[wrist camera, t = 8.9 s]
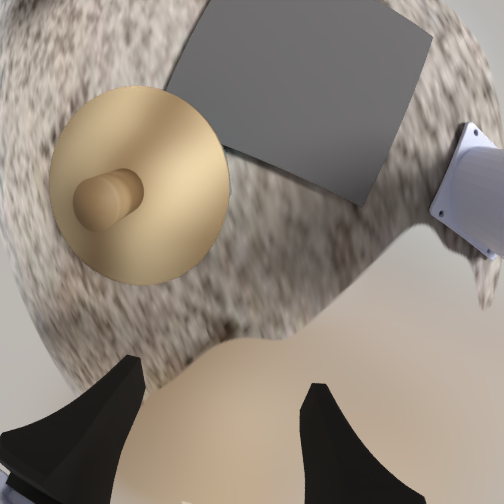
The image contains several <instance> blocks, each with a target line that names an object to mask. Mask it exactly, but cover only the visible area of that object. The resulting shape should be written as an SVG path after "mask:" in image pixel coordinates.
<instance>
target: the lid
mask: <svg viewBox="0 0 504 504" xmlns="http://www.w3.org/2000/svg"><path fill="white" fill-rule="evenodd" d="M49 192H50V200H51V206H52V210H53V213H54V217H55V220H56V222H57V225H58V227H59V229H60V231H61V233H62V235H63V237H64V239H65V240H66V242H67V243H68V245H69V246H70V248H71V249H72V250H73V251H74V252H75V254H76V255H77V256H78V257H79V258H80V259H81V260H82V261H83V262H84V263H85V264H87V265H88V266H89V267H91V268H92V269H93V270H95V271H96V272H98V273H100V274H101V275H103V276H105V277H107V278H110V279H112V280H115V281H118V282H121V283H125V284H131V285H155V284H160V283H164V282H167V281H170V280H173V279H175V278H177V277H179V276H181V275H183V274H184V273H186V272H188V271H189V270H190V269H192V268H193V267H194V266H195V265H197V264H198V263H199V262H200V260H201V259H202V258H203V257H204V256H205V255H206V254H207V252H208V251H209V250H210V248H211V247H212V245H213V244H214V242H215V240H216V238H217V236H218V234H219V232H220V230H221V228H222V225H223V222H224V219H225V217H226V213H227V208H228V204H229V194H230V177H229V169H228V164H227V159H226V156H225V153H224V150H223V147H222V145H221V142H220V140H219V138H218V136H217V134H216V133H215V131H214V129H213V128H212V126H211V125H210V123H209V122H208V121H207V120H206V119H205V117H204V116H203V115H202V114H201V113H200V112H199V111H198V110H197V109H195V108H194V107H193V106H192V105H191V104H189V103H188V102H186V101H185V100H183V99H181V98H180V97H178V96H175V95H173V94H171V93H168V92H166V91H163V90H160V89H156V88H152V87H145V86H129V87H121V88H117V89H113V90H110V91H108V92H105V93H103V94H101V95H99V96H97V97H95V98H94V99H92V100H90V101H89V102H88V103H86V104H85V105H84V106H83V107H81V108H80V109H79V110H78V111H77V112H76V113H75V115H74V116H73V117H72V118H71V119H70V121H69V122H68V123H67V125H66V126H65V128H64V129H63V131H62V133H61V135H60V137H59V139H58V141H57V144H56V146H55V149H54V152H53V156H52V160H51V165H50V173H49Z"/></svg>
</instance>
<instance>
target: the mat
mask: <svg viewBox="0 0 504 504" xmlns="http://www.w3.org/2000/svg"><path fill="white" fill-rule="evenodd" d="M432 39H433V37H432V36H431V35H430V34H428V33H427V32H426V31H424V30H423V29H421V28H420V27H419V26H417V25H416V24H414V23H413V22H411V21H410V20H408V19H407V18H405V17H404V16H402V15H401V14H399V13H397V12H396V11H394V10H392V9H391V8H389V7H387V6H386V5H384V4H382V3H380V2H379V1H377V0H211V1H210V2H209V4H208V6H207V8H206V9H205V11H204V13H203V15H202V16H201V18H200V20H199V22H198V24H197V26H196V27H195V29H194V31H193V33H192V35H191V37H190V39H189V41H188V43H187V45H186V47H185V49H184V51H183V53H182V55H181V57H180V59H179V62H178V64H177V66H176V68H175V70H174V73H173V75H172V77H171V79H170V82H169V84H168V86H167V89H166V92H168V93H171V94H173V95H175V96H178V97H180V98H181V99H183V100H185V101H186V102H188V103H189V104H191V105H192V106H193V107H194V108H195V109H197V110H198V111H199V112H200V113H201V114H202V115H203V116H204V117H205V119H206V120H207V121H208V122H209V123H210V125H211V126H212V128H213V129H214V131H215V133H216V134H217V136H218V138H219V140H220V142H221V144H222V145H225V146H227V147H230V148H232V149H235V150H238V151H240V152H243V153H245V154H248V155H250V156H252V157H255V158H257V159H260V160H262V161H264V162H267V163H269V164H272V165H274V166H276V167H278V168H281V169H283V170H285V171H288V172H290V173H292V174H294V175H296V176H299V177H301V178H303V179H305V180H307V181H309V182H312V183H314V184H316V185H318V186H320V187H322V188H324V189H326V190H328V191H330V192H332V193H334V194H336V195H338V196H340V197H342V198H344V199H346V200H348V201H350V202H352V203H354V204H356V205H358V206H360V207H362V206H363V204H364V202H365V200H366V198H367V196H368V194H369V192H370V190H371V188H372V186H373V184H374V182H375V180H376V177H377V175H378V173H379V171H380V169H381V167H382V165H383V163H384V160H385V158H386V156H387V154H388V152H389V150H390V147H391V145H392V143H393V141H394V138H395V136H396V134H397V131H398V129H399V127H400V124H401V122H402V120H403V117H404V115H405V112H406V110H407V108H408V105H409V103H410V100H411V98H412V95H413V92H414V90H415V87H416V85H417V82H418V79H419V77H420V74H421V71H422V68H423V66H424V63H425V60H426V57H427V54H428V51H429V48H430V45H431V42H432Z"/></svg>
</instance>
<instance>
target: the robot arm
mask: <svg viewBox="0 0 504 504" xmlns="http://www.w3.org/2000/svg"><path fill="white" fill-rule="evenodd" d="M474 130H475V135H474ZM440 211H442V213H441V215H440V216H439V212H440ZM430 214H431V215H432V216H433V217H435V218H436V219H438V220H439V221H440V222H442V223H443V224H445V225H446V226H448V227H449V228H450V229H452V230H453V231H454V232H456V233H457V234H458V235H460V236H461V237H462V238H464V239H465V240H466V241H468V242H469V243H470V244H472V245H473V246H474V247H475V248H477V249H478V250H479V251H480V252H482V253H483V254H484V255H485V256H487V257H488V258H489V259H490V260H494V259H495V258H496V256H497V255H499V256H500V257H502V258H503V259H504V150H503V149H498V148H497V147H496V146H495V145H494V144H493V143H492V142H491V141H490V140H489V138H488V137H487V136H486V135H485V134H484V133H483V132H482V131H481V130H480V129H479V128H478V127H477V126H476V125H475V124H474V123H472V122H466V124H465V126H464V129H463V131H462V134H461V137H460V140H459V142H458V145H457V147H456V150H455V153H454V155H453V157H452V160H451V162H450V165H449V167H448V169H447V172H446V174H445V176H444V179H443V181H442V183H441V185H440V187H439V190H438V192H437V194H436V196H435V198H434V200H433V202H432V204H431V206H430ZM487 250H488V251H487ZM145 388H146V387H145V382H144V376H143V371H142V365H141V358H139V357H135V356H131V355H126V356H125V357H124V358H123V359H122V360H121V361H120V362H119V363H118V364H117V365H116V366H114V367H113V368H112V369H111V370H110V371H109V372H108V373H107V374H106V375H105V376H104V377H102V378H101V379H100V380H99V381H98V382H97V383H96V384H94V385H93V386H92V387H91V388H90V389H88V390H87V391H86V392H85V393H83V394H82V395H81V396H79V397H78V398H77V399H75V400H74V401H73V402H71V403H70V404H68V405H66V406H65V407H63V408H62V409H60V410H58V411H57V412H55V413H53V414H51V415H49V416H47V417H45V418H43V419H41V420H39V421H37V422H34V423H32V424H29V425H27V426H24V427H21V428H17V429H14V430H10V431H7V432H3V433H2V434H1V436H0V463H1V464H2V465H3V466H5V467H6V468H7V469H8V470H9V471H10V472H11V473H10V475H9V476H8V475H7V474H6V473H5V472H3V471H2V470H1V469H0V504H110V499H111V494H112V487H113V482H114V478H115V474H116V470H117V466H118V462H119V458H120V455H121V451H122V449H123V446H124V443H125V441H126V438H127V436H128V434H129V431H130V429H131V427H132V425H133V422H134V420H135V418H136V415H137V413H138V411H139V408H140V406H141V402H142V399H143V395H144V392H145ZM300 437H301V447H302V455H303V462H304V472H305V504H426V501H425V498H424V496H422V495H420V494H419V493H417V492H416V491H414V490H412V489H411V488H409V487H408V486H406V485H405V484H404V483H402V482H401V481H400V480H398V479H397V478H396V477H395V476H394V475H393V474H391V473H390V472H389V471H388V470H387V469H386V468H385V467H384V466H383V465H381V464H380V462H379V461H378V460H377V459H376V458H375V457H374V456H373V455H372V454H371V453H370V452H369V450H368V449H367V448H366V447H365V445H364V444H363V443H362V442H361V440H360V439H359V438H358V436H357V435H356V433H355V432H354V431H353V429H352V428H351V426H350V424H349V423H348V421H347V420H346V418H345V416H344V415H343V413H342V412H341V410H340V408H339V406H338V405H337V403H336V401H335V399H334V398H333V396H332V394H331V392H330V390H329V388H328V386H327V385H326V384H320V383H312V384H311V387H310V389H309V391H308V394H307V396H306V398H305V400H304V402H303V404H302V407H301V409H300Z"/></svg>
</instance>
